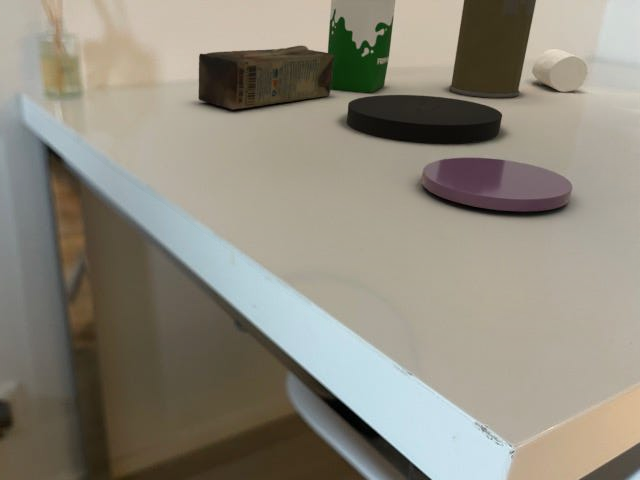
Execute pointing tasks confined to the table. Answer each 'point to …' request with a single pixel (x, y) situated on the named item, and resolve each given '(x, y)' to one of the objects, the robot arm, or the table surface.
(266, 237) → the table surface
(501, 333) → the table surface
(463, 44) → the canister
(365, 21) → the milk carton
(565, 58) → the roll
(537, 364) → the table surface
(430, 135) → the wireless charger
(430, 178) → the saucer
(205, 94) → the beverage carton
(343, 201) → the table surface
